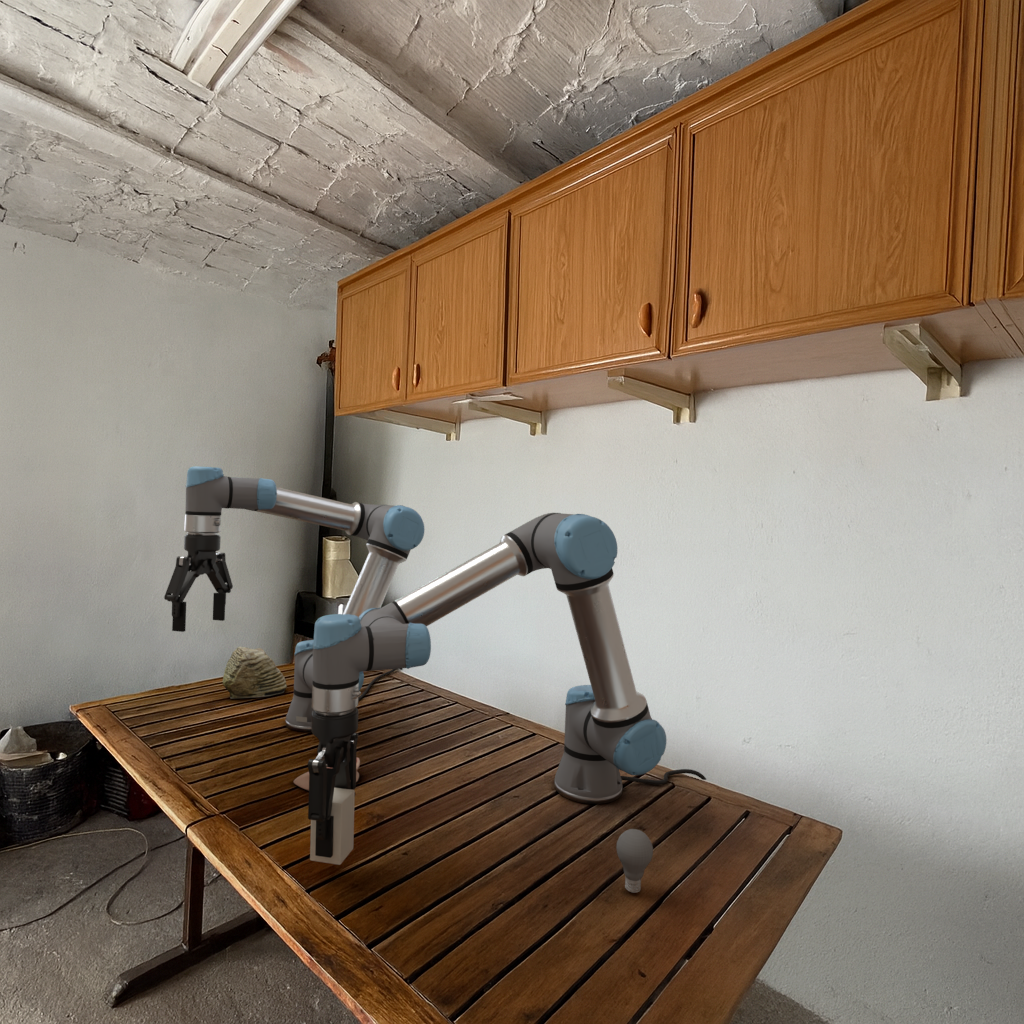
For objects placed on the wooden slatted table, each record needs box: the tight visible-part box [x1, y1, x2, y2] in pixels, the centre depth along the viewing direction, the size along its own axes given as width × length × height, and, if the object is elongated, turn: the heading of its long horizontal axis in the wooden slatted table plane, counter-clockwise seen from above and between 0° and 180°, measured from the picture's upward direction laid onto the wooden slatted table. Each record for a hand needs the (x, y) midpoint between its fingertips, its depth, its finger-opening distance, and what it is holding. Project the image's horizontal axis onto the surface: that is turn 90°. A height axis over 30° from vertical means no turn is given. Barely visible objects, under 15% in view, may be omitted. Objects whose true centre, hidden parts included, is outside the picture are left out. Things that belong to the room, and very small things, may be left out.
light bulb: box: [615, 828, 654, 894], centre depth 106 cm, size 6×6×10 cm
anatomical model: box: [293, 756, 361, 791], centre depth 141 cm, size 13×4×12 cm
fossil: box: [222, 646, 288, 699], centre depth 198 cm, size 9×18×15 cm, turn 132°
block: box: [309, 788, 356, 866], centre depth 106 cm, size 5×5×10 cm
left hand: (199, 625), depth 146 cm, fingers open, 13 cm apart
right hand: (332, 845), depth 106 cm, fingers closed on block, 5 cm apart
